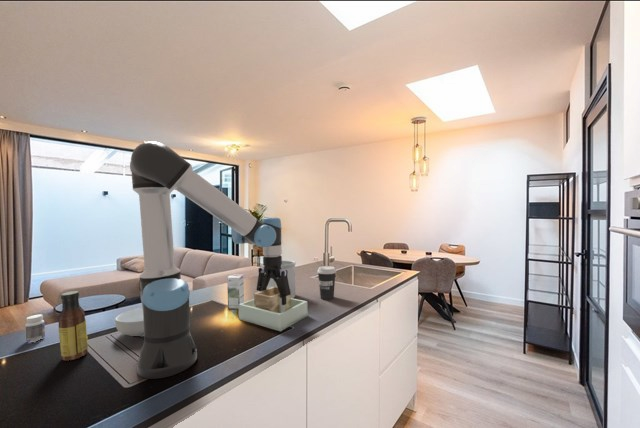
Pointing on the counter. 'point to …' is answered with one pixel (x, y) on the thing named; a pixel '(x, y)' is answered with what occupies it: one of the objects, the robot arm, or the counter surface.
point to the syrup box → (235, 291)
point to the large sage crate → (273, 314)
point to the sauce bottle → (72, 327)
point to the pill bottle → (35, 328)
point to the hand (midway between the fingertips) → (273, 310)
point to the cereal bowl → (131, 322)
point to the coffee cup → (326, 282)
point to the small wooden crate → (270, 300)
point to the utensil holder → (290, 267)
